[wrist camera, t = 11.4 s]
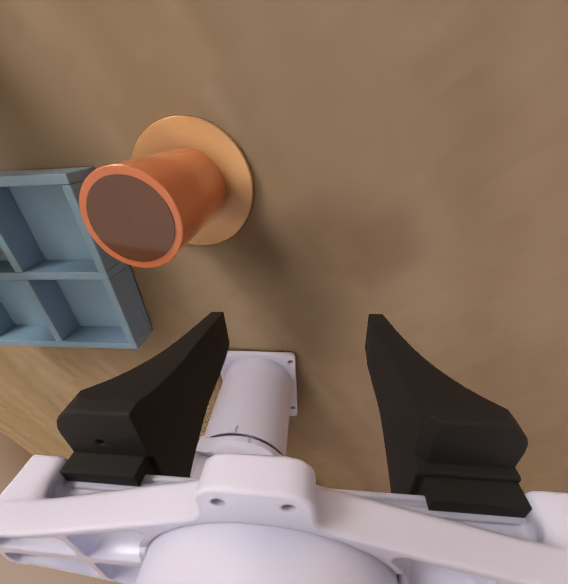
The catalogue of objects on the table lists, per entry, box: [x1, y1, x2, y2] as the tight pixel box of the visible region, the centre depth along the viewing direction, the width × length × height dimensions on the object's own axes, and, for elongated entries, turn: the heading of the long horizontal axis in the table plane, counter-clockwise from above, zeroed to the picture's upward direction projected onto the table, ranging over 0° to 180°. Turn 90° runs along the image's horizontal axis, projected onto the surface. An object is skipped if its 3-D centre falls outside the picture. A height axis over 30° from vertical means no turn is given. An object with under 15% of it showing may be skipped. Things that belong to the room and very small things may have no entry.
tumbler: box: [79, 147, 226, 268], centre depth 18 cm, size 5×5×8 cm
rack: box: [0, 167, 152, 349], centre depth 25 cm, size 15×15×3 cm
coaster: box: [132, 116, 254, 245], centre depth 21 cm, size 9×9×1 cm
